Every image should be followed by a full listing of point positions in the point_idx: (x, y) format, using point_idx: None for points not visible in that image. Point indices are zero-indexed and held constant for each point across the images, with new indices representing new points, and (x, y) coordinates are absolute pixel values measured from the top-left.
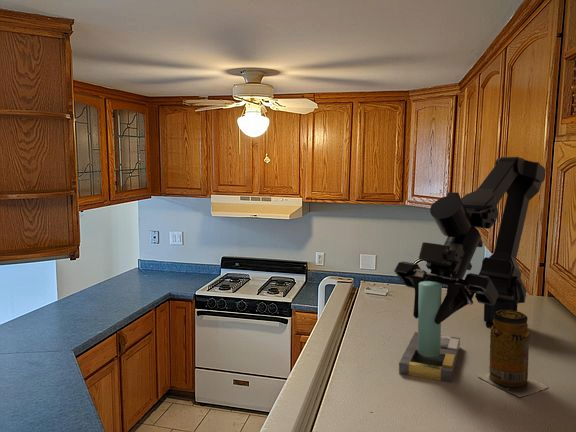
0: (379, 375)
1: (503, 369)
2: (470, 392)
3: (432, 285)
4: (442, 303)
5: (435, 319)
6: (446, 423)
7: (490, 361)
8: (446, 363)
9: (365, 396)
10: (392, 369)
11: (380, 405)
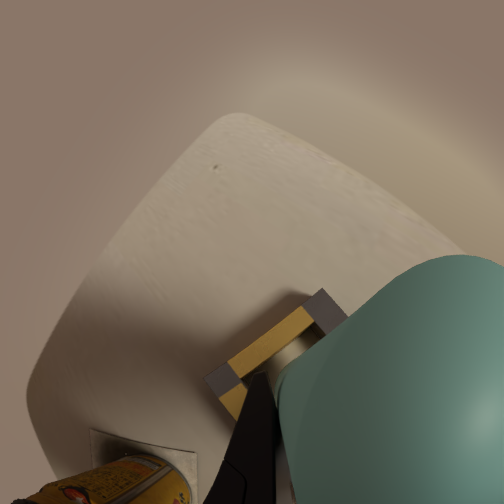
0: (328, 250)
1: (114, 462)
2: (153, 376)
3: (411, 424)
4: (269, 458)
5: (262, 374)
6: (117, 245)
7: (155, 478)
8: (239, 397)
9: (263, 181)
10: (342, 296)
11: (222, 186)
